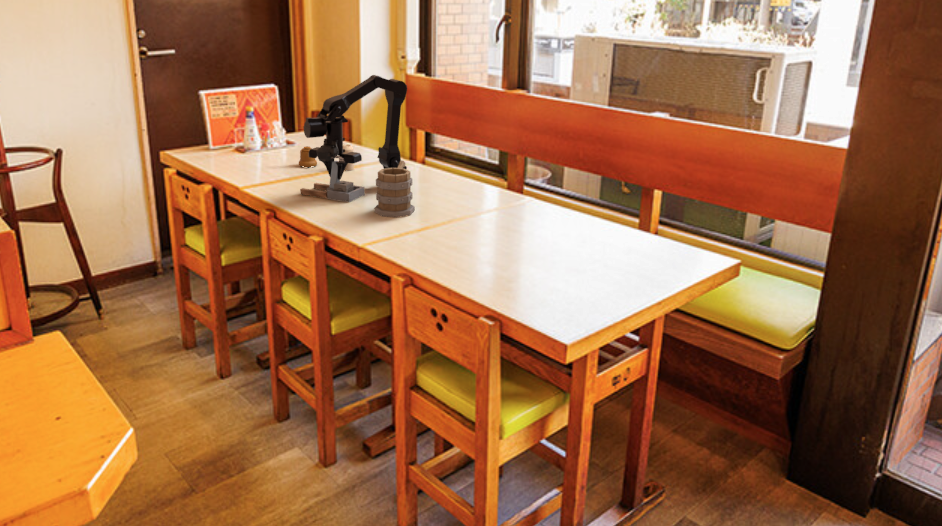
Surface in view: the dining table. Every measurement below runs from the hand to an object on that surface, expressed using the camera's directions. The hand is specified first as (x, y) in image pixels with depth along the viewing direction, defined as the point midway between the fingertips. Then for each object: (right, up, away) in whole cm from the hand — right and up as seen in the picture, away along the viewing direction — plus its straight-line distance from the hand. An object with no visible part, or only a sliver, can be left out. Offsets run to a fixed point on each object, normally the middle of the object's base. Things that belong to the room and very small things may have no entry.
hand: (335, 178), depth 268 cm
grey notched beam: (-1, -5, +2) cm, 6 cm away
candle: (-2, +8, +39) cm, 40 cm away
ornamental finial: (-19, +10, +42) cm, 47 cm away
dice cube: (+3, -6, +1) cm, 7 cm away
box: (+4, -6, +1) cm, 7 cm away
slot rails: (-6, -5, +5) cm, 9 cm away
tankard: (+23, -12, -11) cm, 28 cm away
